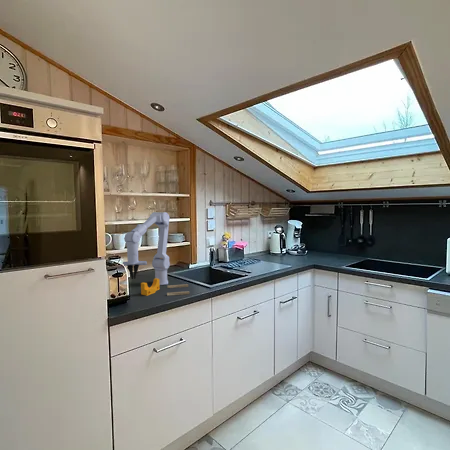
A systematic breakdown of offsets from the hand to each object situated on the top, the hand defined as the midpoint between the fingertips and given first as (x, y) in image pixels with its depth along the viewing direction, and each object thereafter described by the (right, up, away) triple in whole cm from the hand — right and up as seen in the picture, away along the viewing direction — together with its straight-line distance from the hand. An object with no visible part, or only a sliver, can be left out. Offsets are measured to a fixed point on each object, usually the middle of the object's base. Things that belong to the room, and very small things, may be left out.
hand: (133, 278), depth 166 cm
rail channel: (+24, -8, +4) cm, 25 cm away
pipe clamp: (+9, -9, +3) cm, 13 cm away
